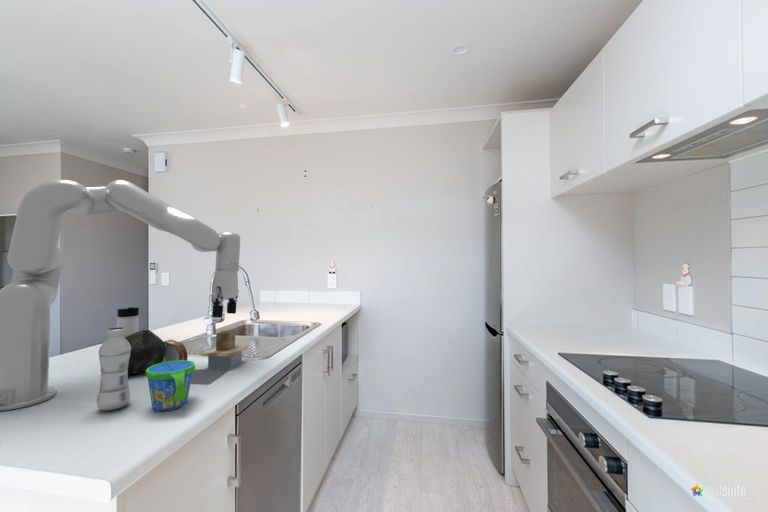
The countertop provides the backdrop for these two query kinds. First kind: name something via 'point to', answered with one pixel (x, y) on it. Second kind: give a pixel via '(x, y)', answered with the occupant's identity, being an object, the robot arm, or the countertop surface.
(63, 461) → the countertop surface
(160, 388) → the snack cup
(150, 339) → the squash
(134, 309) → the travel mug
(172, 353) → the brown curved piece
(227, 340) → the lid
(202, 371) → the mat
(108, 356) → the plastic bottle
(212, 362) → the dish
